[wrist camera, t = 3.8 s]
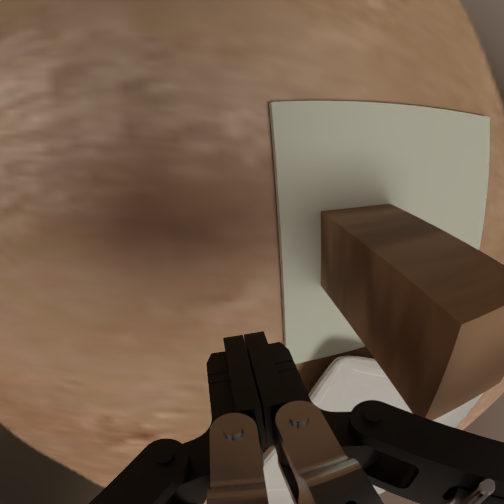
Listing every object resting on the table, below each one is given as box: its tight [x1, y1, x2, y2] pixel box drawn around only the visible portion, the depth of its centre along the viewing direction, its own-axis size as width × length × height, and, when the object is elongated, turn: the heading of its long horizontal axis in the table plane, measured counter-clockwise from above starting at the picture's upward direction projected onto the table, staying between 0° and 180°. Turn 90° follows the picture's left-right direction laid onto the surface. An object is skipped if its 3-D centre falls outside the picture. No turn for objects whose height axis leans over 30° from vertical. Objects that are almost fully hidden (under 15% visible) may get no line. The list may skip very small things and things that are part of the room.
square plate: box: [263, 356, 483, 504], centre depth 29 cm, size 27×27×4 cm
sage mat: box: [269, 101, 490, 364], centre depth 21 cm, size 18×18×1 cm
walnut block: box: [321, 204, 504, 420], centre depth 14 cm, size 5×5×12 cm
